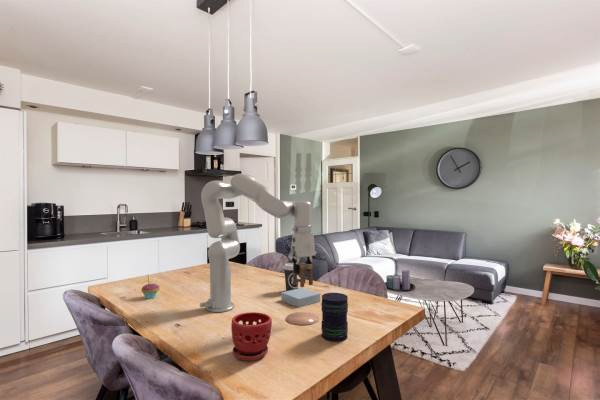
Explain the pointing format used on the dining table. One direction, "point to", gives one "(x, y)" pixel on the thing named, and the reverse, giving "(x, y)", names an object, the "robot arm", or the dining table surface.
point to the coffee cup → (290, 277)
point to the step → (300, 297)
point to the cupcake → (150, 290)
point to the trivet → (302, 318)
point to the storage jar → (334, 317)
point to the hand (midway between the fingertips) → (302, 271)
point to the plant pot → (251, 335)
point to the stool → (303, 274)
